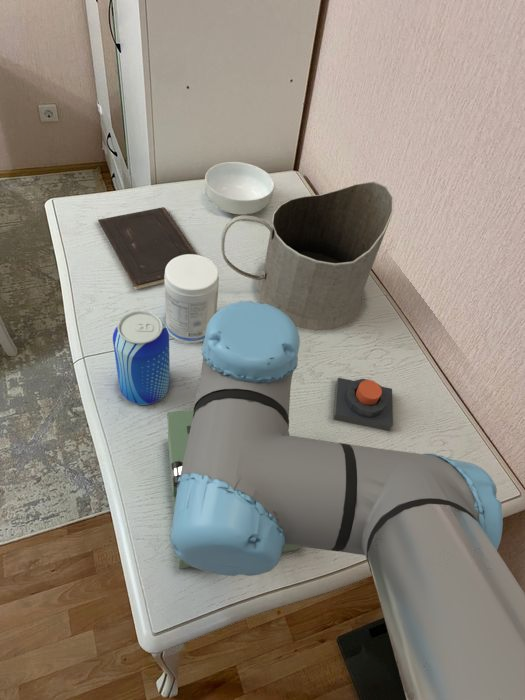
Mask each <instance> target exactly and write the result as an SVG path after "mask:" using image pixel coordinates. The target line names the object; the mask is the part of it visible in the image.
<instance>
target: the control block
mask: <svg viewBox="0 0 525 700" xmlns="http://www.w3.org/2000/svg"><path fill="white" fill-rule="evenodd" d="M364 380H368V379H367V378H359V379H356V380H351V379H347V378H342V377H337V379H336V382H335V385H334V386H335V389H334V401H333V413H332V414H333V415H332V420H334V421H339V422H343V423H348V424H352V425H353V424H354V425H358V426H363V427H367V428H372V429H378V430H382V431H388V432H390V431H391V429H392V427H393V426H394V418H393V417H394V416H393V415H394V414H393V413H394V412H393V411H394V410H393V409H394V407H393V388H390V387H387V386H382V385H381V384H379V383H377V384H378V385H379V386H380V387H381V389H382V394H381V396H380V398H379V400H378V402H377V403H376V404H375V405H372V406H368V405H364V404H362V403H361V402H359V400H358V399H357V397H356V391H357V389H358V387H359V385H360V383H361V382H362V381H364ZM370 380H371V381H373V380H372V379H370Z"/></svg>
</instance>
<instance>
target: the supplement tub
mask: <svg viewBox="0 0 525 700" xmlns="http://www.w3.org/2000/svg"><path fill="white" fill-rule="evenodd" d="M219 286H220V275H219V269H218V266H217V265H216V263H215V262H214V261H212V260H211V259H210V258H208V257H206V256H204V255H200V254H197V255H195V254H186V255H181V256H178V257H175V258H174V259H172V260H171V261H170V262H169V263H168V264H167V266H166V268H165V276H164V304H165V305H164V307H165V308H164V309H165V310H164V311H165V327H166V328H167V330H168V333H169V336H171V337H172V338H174V340H177V341H179V342H181V343H186V344H197V343H201V342H202V343H203V342H204V340H205V334H206V328H207V325H208V323H209V321H210V319H211V318H212V317H213V315H214V314H215V313H216V312H217V311H218V297H219Z"/></svg>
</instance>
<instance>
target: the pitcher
mask: <svg viewBox="0 0 525 700" xmlns="http://www.w3.org/2000/svg"><path fill="white" fill-rule="evenodd" d="M393 213H394V195H393V194H392V192H391V191H390V189H389V188H388V187H387V186H386V185H383V184H382V183H380V182H377V181H367V182H361V183H355V184H353V185H350V186H349V185H348V186H346V187H343V188H339V189H336V190H332V191H329V192H326V193H322V194H315V195H305V196H299V197H295V198H291V199H289V200H287V201H285V202H283V203H281V204H280V205H279V206H278V207H277V208H276V210H275V211H274V212H273V214H272V220H271V225H270V224H269V223H268V222H267V221H265V220H264V219H262V218H260V217H257V216H254V215H246V214H245V215H238V216H235V217H233V218H231V219H230V220H229V221H228V222H227V223H226V224H225V225H224V228H223V230H222V234H221V243H220V244H221V245H220V246H221V253H222V254H221V255H222V258H223V260H224V262H225V263H226V264H227V266H229V268H230V269H232V270H233V271H234V272H236V273H238V274H239V275H240V276H243V277H246V278H248V279H252V280H256V281H257V285H256V290H257V293H258V297H259V299H260V301H261V302H262V304H264V303H265V304H268V305H271V306H274V307H276V308H277V309H279V310H281V311H282V312H284V313H285V314H286V315H287V316H288V317H289V318H290V319H291V320H292V321H293V323H294V324H295V326H296V328H298V329H304V330H311V331H316V332H317V331H328V330H330V331H331V330H335V329H339V328H341V327H343V326H346V325H348V324H350V322H352V321H353V320H354V319H355V318H357V316H358V315H359V313H360V310H361V309H362V304H363V303H362V294H363V292H364V289H365V287H366V284H367V282H368V280H369V276H370V274H371V271H372V268H373V266H374V263H375V261H376V258H377V255H378V253H379V251H380V247H381V245H382V242H383V240H384V237H385V235H386V232H387V229H388V226H389V224H390V222H391V219H392V215H393ZM240 221H252V222H256V223H259V224H261V225H262V226H264V227H266V228H267V229H268V230H269V232H270V233H269V237H268V241H267V242H268V244H267V249H266V255H265V260H264V266H263V270H262V272H261V273H260V274H259V275H255V274H253V273H249V272H246V271H243V270H241V269H239V268H238V267H236V265H234V264H233V263H232V262H231V261H230V259H228V258H227V255H226V253H225V252H226V251H225V242H226V241H225V240H226V235H227V233H228V231H229V229H230V228H231V226H233V225H234V224H235V223H236V222H240Z"/></svg>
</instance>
